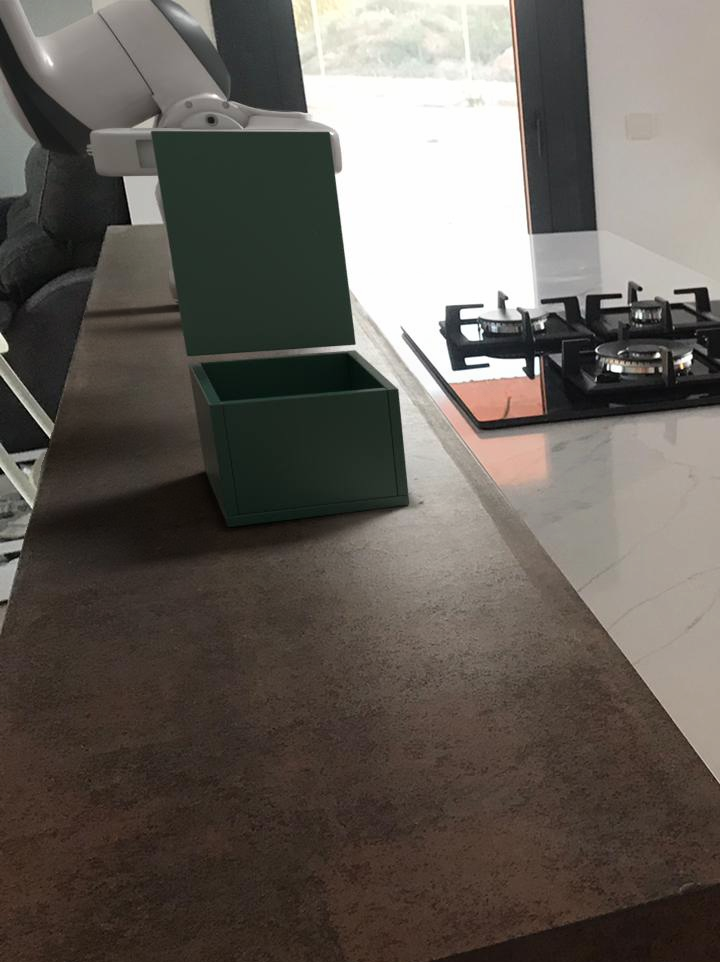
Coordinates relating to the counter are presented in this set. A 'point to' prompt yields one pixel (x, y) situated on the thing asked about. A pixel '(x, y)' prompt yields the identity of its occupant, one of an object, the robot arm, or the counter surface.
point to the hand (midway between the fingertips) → (229, 156)
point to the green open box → (299, 436)
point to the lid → (254, 240)
